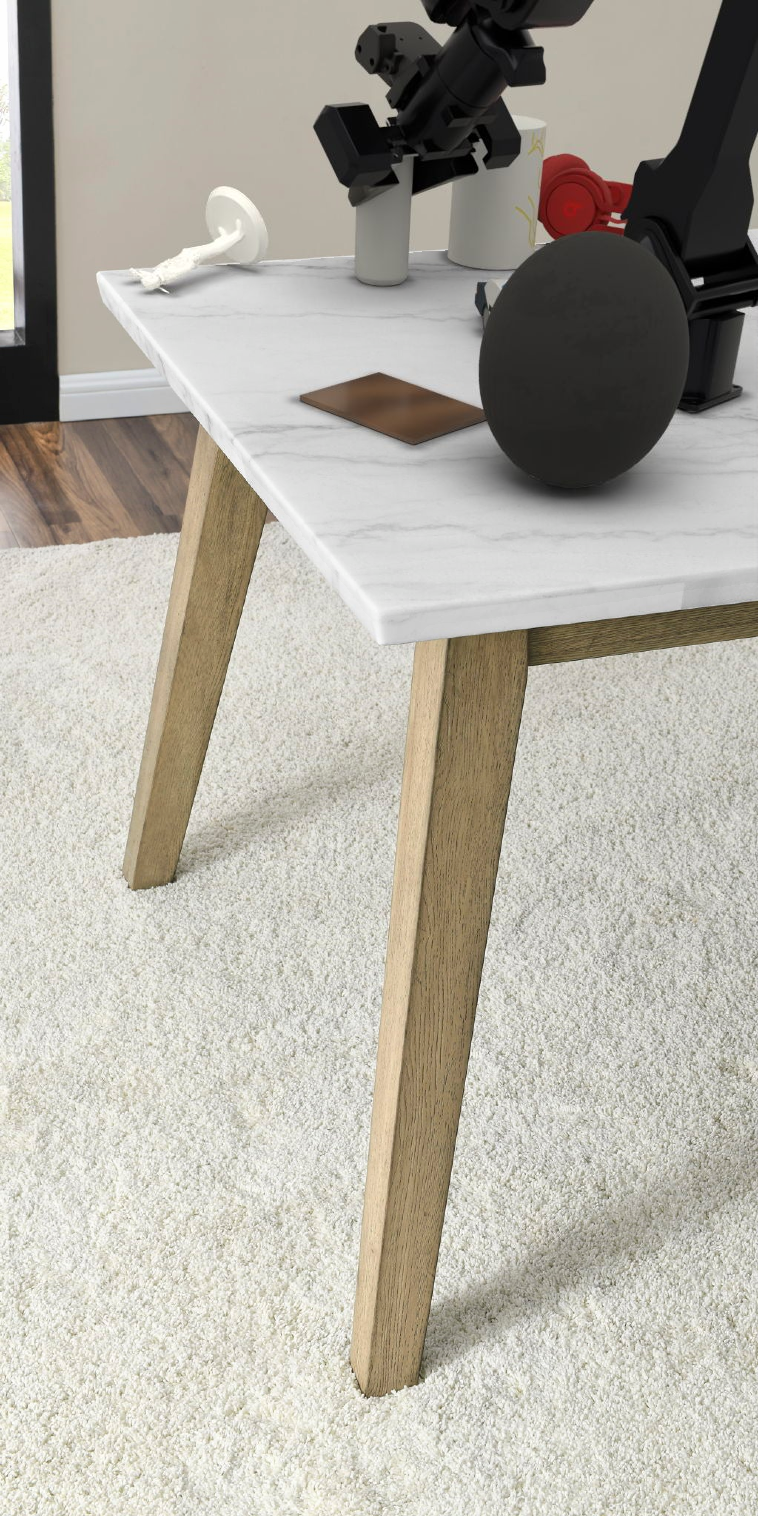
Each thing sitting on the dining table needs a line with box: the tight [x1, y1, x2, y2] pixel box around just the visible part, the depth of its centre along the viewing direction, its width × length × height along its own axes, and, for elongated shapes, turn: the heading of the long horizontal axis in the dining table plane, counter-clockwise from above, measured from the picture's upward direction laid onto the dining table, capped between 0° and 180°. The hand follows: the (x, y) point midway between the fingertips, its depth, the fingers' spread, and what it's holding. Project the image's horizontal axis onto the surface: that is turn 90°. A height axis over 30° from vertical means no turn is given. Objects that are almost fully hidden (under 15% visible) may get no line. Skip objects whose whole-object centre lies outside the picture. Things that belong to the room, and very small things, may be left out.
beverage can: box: [353, 156, 414, 287], centre depth 122 cm, size 5×5×12 cm
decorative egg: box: [478, 231, 689, 489], centre depth 84 cm, size 12×12×15 cm
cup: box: [447, 114, 547, 271], centre depth 130 cm, size 8×8×12 cm
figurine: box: [129, 185, 269, 294], centre depth 121 cm, size 7×7×12 cm
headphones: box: [537, 153, 633, 241], centre depth 141 cm, size 15×7×20 cm
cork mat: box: [299, 371, 487, 446], centre depth 98 cm, size 11×8×1 cm
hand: (374, 198), depth 123 cm, fingers closed on beverage can, 5 cm apart
